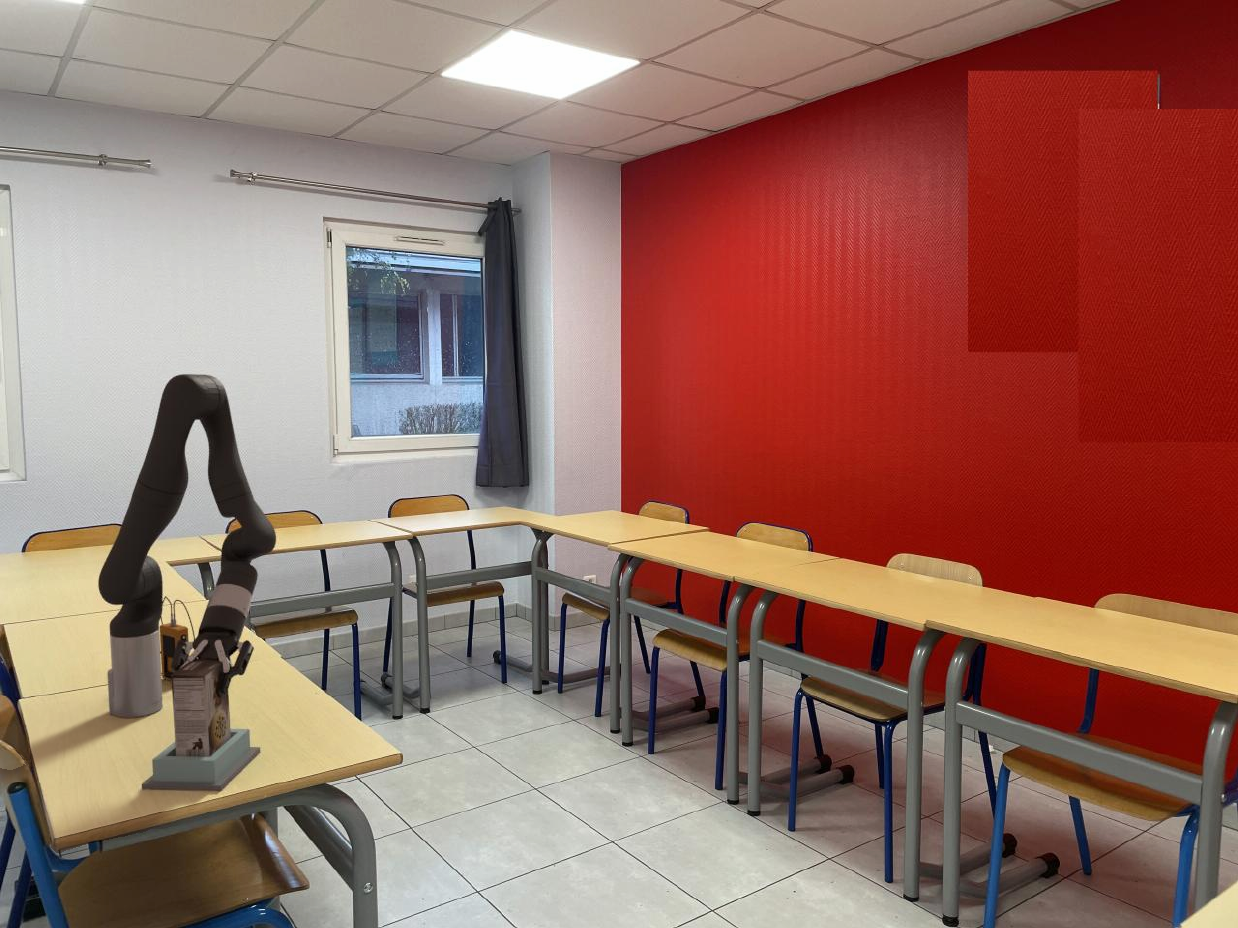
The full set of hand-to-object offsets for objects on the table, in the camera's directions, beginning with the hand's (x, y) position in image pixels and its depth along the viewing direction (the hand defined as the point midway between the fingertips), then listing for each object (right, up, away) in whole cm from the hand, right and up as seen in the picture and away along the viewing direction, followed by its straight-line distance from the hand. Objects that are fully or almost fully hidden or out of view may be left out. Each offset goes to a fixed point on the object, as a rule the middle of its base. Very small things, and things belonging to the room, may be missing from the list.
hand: (199, 694), depth 163 cm
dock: (0, -14, +2) cm, 14 cm away
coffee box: (0, -11, +2) cm, 11 cm away
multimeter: (-27, -9, +53) cm, 60 cm away
